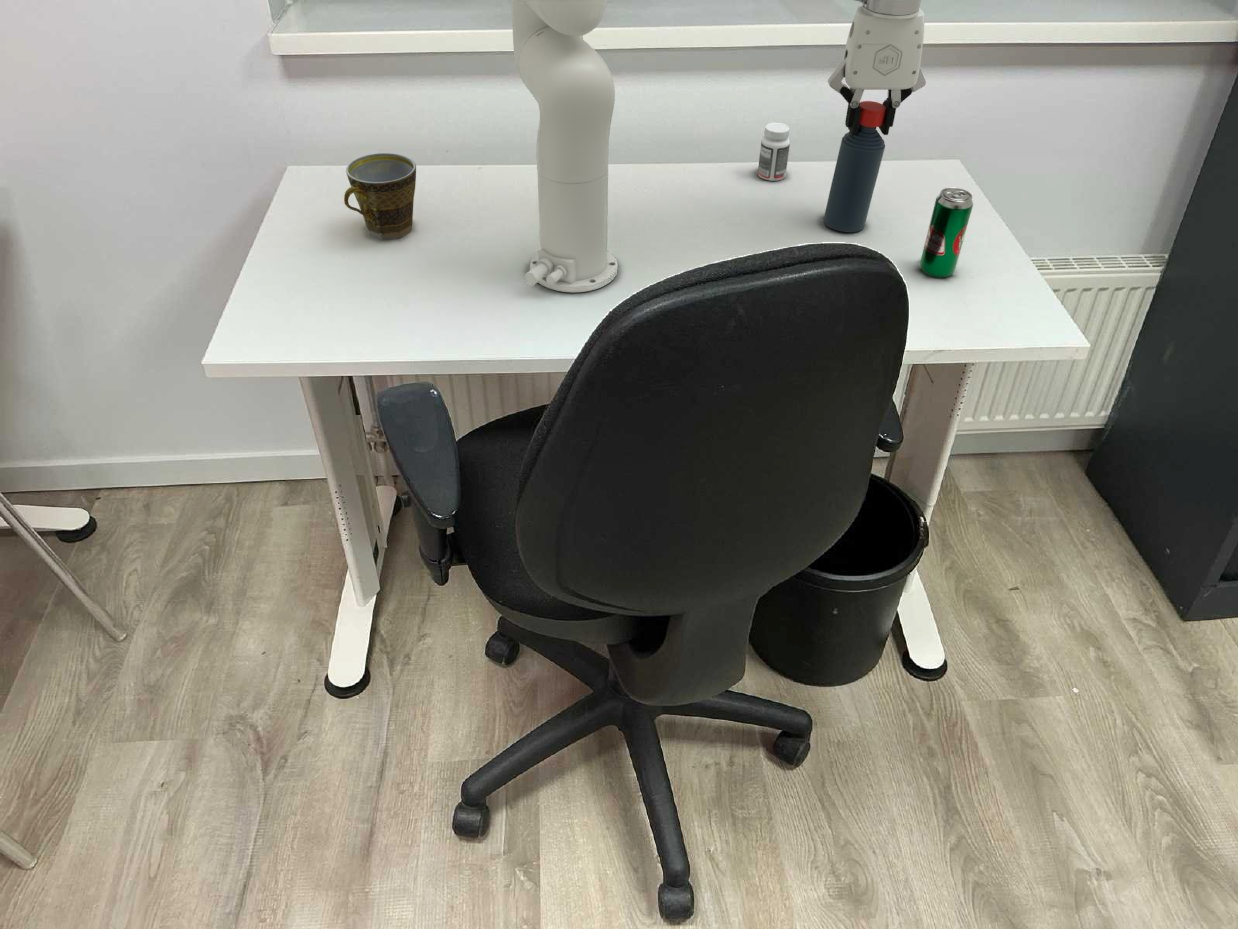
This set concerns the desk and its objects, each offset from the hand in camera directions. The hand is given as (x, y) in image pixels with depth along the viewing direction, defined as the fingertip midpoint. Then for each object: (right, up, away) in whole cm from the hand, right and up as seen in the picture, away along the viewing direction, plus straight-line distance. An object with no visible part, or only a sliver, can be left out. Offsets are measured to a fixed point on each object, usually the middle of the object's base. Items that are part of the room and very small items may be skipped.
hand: (867, 129), depth 146 cm
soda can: (+10, -21, 0) cm, 23 cm away
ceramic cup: (-72, -14, +4) cm, 74 cm away
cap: (0, +2, -2) cm, 3 cm away
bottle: (-1, -11, +9) cm, 15 cm away
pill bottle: (-11, 0, +22) cm, 24 cm away
